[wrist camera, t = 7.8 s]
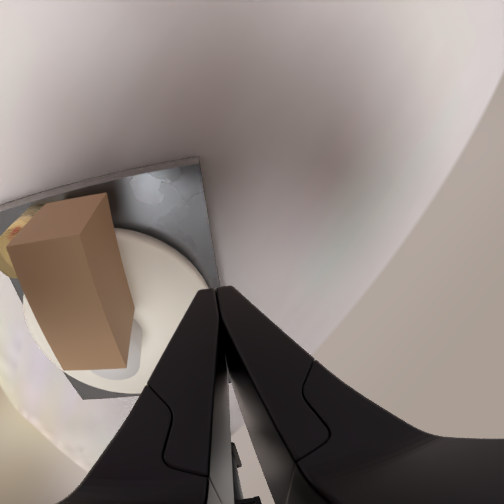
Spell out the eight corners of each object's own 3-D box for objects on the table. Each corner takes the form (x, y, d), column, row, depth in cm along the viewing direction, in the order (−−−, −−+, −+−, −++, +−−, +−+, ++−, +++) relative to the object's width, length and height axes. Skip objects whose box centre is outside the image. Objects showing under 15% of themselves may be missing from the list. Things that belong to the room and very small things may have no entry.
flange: (200, 172, 14) (207, 218, 10) (223, 371, 20) (235, 437, 16) (-7, 208, 12) (-62, 259, 8) (70, 382, 19) (57, 443, 14)
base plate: (235, 365, 23) (238, 381, 21) (85, 384, 21) (82, 399, 20) (198, 156, 15) (199, 163, 14) (-3, 206, 14) (-16, 216, 13)
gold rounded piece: (61, 237, 14) (37, 274, 11) (31, 244, 14) (3, 281, 11) (49, 200, 13) (19, 231, 10) (18, 209, 13) (-14, 241, 10)
